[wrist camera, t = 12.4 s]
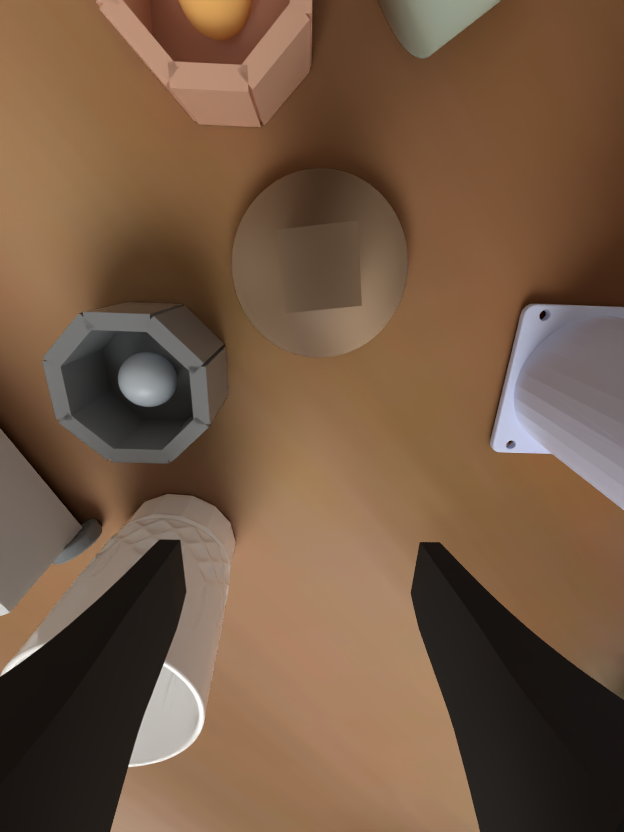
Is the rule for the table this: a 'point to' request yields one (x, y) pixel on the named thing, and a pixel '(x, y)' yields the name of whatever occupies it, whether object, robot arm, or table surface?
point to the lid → (319, 262)
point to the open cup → (221, 57)
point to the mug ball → (147, 379)
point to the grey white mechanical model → (32, 527)
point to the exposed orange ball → (217, 16)
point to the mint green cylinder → (431, 21)
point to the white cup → (198, 626)
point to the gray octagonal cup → (100, 393)
